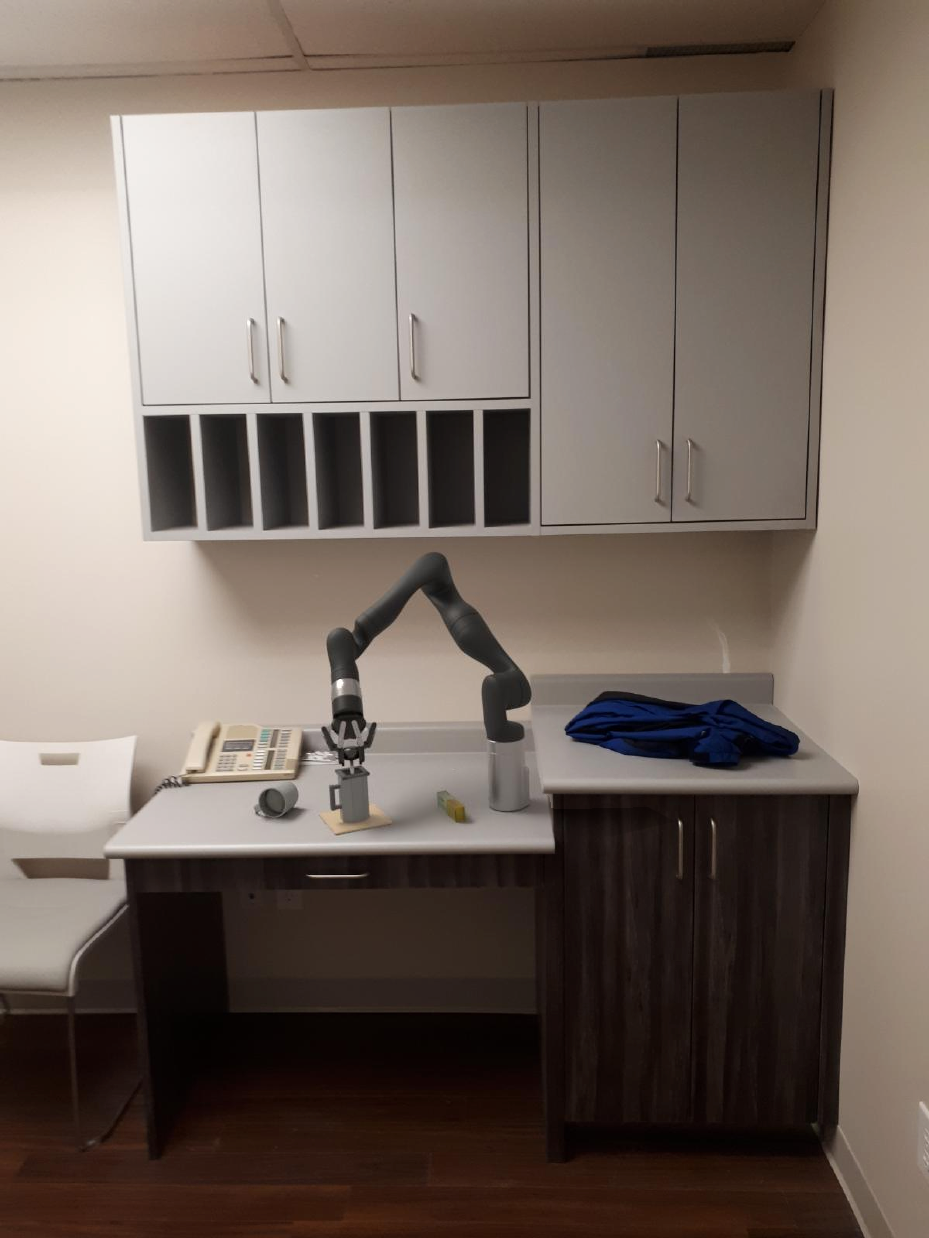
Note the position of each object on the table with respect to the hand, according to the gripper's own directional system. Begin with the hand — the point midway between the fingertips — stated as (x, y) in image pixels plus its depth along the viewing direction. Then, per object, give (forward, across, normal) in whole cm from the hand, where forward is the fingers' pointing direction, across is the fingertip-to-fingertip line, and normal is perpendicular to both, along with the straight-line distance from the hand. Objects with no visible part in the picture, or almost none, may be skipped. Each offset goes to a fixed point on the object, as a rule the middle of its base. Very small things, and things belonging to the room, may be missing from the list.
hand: (351, 763), depth 212 cm
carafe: (+9, 0, -12) cm, 15 cm away
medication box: (+11, -23, -10) cm, 27 cm away
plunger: (+6, 0, -9) cm, 11 cm away
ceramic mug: (+2, +19, -19) cm, 27 cm away
